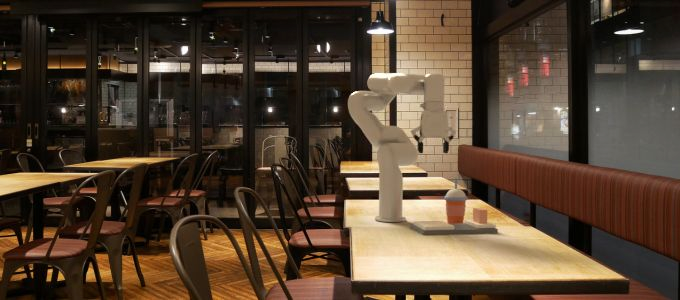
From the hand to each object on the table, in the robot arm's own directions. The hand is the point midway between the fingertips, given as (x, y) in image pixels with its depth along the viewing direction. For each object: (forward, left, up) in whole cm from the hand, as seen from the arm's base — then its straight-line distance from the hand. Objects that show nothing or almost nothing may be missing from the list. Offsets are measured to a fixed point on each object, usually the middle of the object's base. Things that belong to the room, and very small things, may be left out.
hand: (433, 153), depth 227 cm
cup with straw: (-12, +14, -28) cm, 34 cm away
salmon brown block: (+6, +16, -27) cm, 32 cm away
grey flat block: (+6, +6, -28) cm, 30 cm away
